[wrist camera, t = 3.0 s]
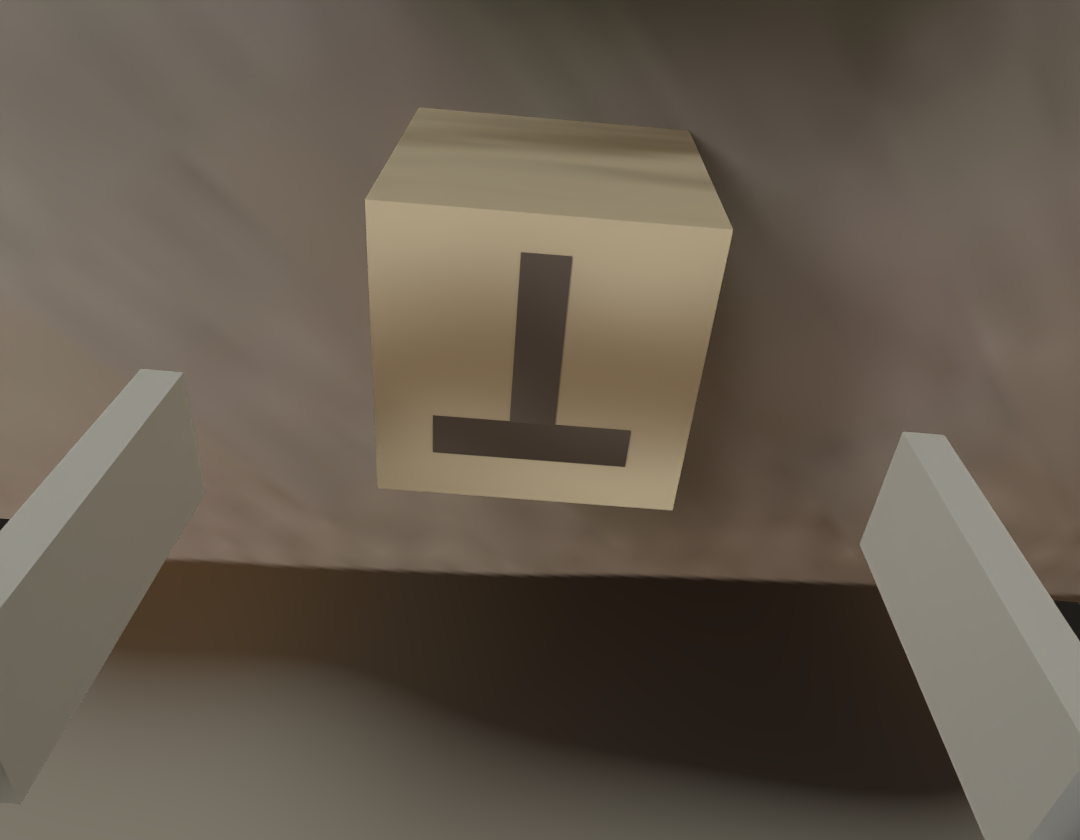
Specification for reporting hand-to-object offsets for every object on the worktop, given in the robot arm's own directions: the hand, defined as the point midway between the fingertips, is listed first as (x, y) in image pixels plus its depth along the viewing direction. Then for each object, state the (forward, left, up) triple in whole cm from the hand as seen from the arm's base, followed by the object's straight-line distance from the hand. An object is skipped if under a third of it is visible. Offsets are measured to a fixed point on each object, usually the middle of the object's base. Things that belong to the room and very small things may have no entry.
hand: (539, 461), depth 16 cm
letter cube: (0, 0, -10) cm, 10 cm away
